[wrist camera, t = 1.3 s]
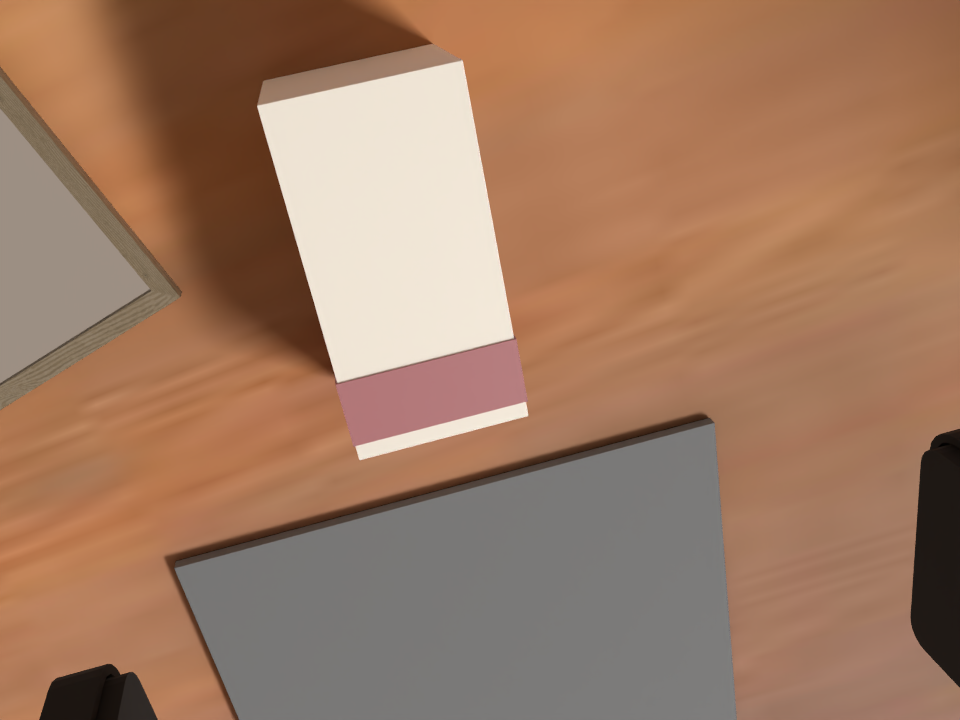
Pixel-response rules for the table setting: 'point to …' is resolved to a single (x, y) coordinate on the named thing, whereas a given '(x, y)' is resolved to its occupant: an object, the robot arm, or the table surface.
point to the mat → (490, 598)
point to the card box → (397, 244)
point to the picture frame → (61, 257)
